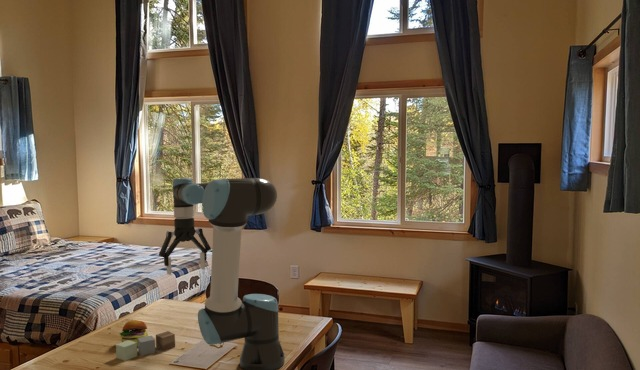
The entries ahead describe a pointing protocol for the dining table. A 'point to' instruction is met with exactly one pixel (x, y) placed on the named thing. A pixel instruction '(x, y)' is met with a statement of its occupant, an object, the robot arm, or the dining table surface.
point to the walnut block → (165, 341)
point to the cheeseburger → (133, 331)
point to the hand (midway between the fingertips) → (186, 271)
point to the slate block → (146, 345)
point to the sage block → (126, 350)
